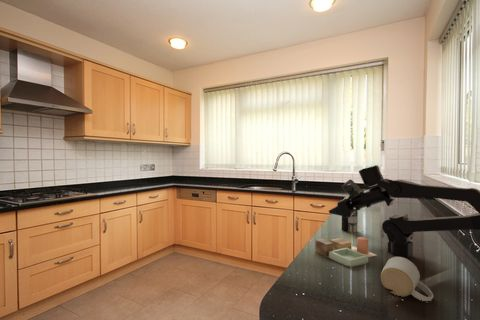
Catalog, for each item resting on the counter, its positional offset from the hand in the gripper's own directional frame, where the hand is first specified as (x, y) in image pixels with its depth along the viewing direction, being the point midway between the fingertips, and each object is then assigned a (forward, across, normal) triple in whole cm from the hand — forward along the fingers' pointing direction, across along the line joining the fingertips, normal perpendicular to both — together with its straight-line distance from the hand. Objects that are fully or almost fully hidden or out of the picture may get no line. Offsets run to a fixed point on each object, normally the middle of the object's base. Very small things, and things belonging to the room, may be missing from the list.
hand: (333, 208), depth 101 cm
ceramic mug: (-23, +28, +21) cm, 41 cm away
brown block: (-1, +21, +10) cm, 23 cm away
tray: (-8, +21, +13) cm, 26 cm away
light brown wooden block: (-3, +14, +12) cm, 18 cm away
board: (-4, +16, +14) cm, 22 cm away
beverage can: (+6, -12, +15) cm, 20 cm away
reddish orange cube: (-8, +11, +15) cm, 20 cm away
